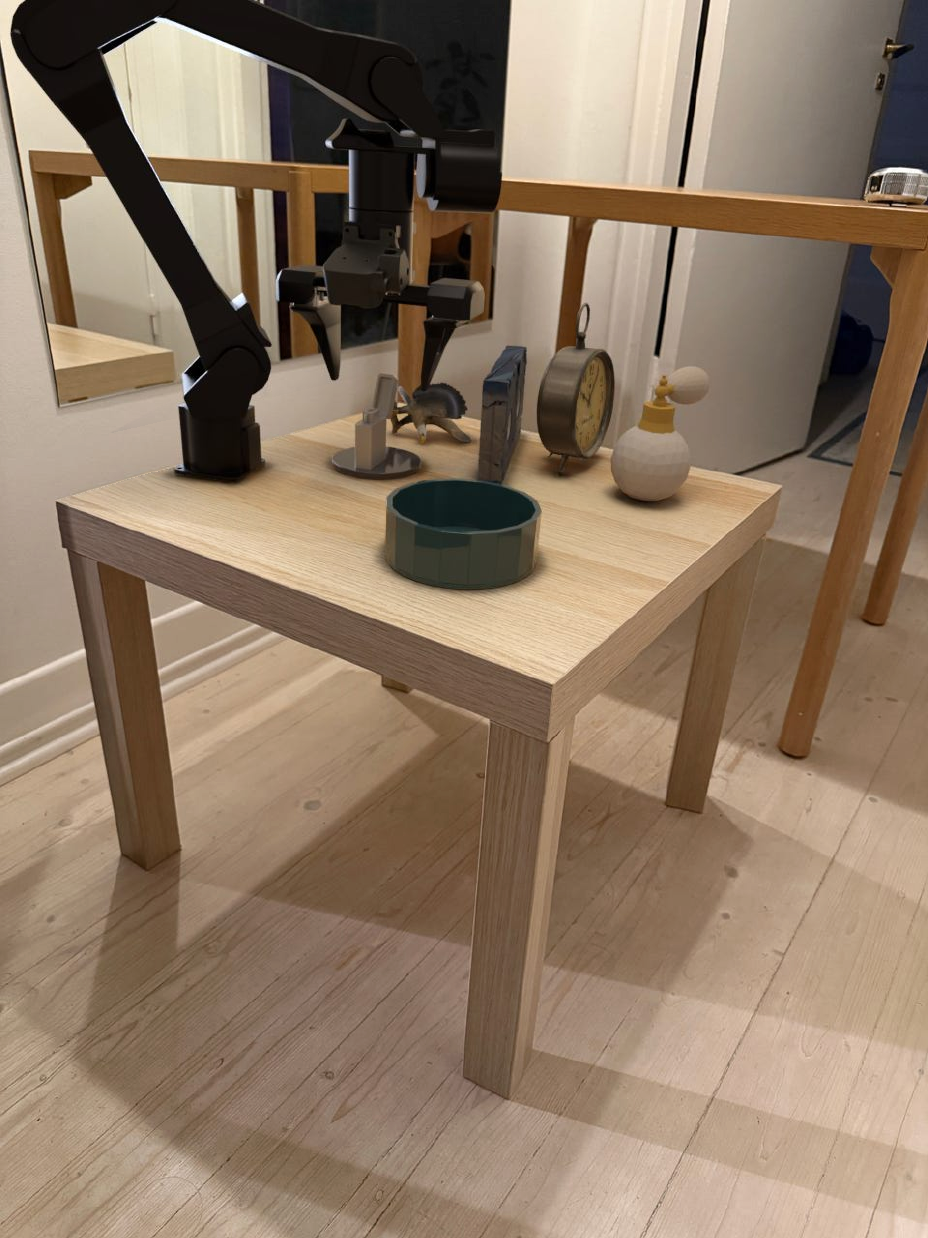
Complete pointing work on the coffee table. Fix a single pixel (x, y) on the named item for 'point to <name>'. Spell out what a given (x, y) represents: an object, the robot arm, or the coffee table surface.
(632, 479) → the perfume bottle
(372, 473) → the coaster
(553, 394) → the alarm clock
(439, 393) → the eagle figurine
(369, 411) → the lighter
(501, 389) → the vhs cassette tape
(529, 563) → the shallow faceted bowl
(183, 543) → the coffee table surface
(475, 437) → the coffee table surface
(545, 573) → the coffee table surface
